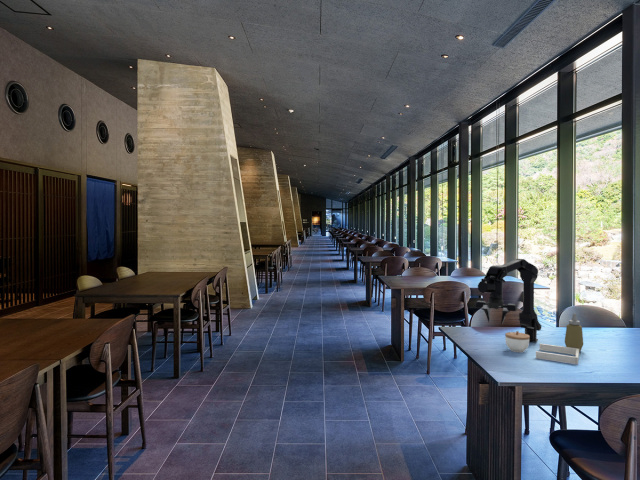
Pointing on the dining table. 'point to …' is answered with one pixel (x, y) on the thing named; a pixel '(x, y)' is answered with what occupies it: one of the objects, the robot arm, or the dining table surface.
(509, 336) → the lidded jar
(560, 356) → the box
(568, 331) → the squeeze bottle
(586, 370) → the dining table surface
